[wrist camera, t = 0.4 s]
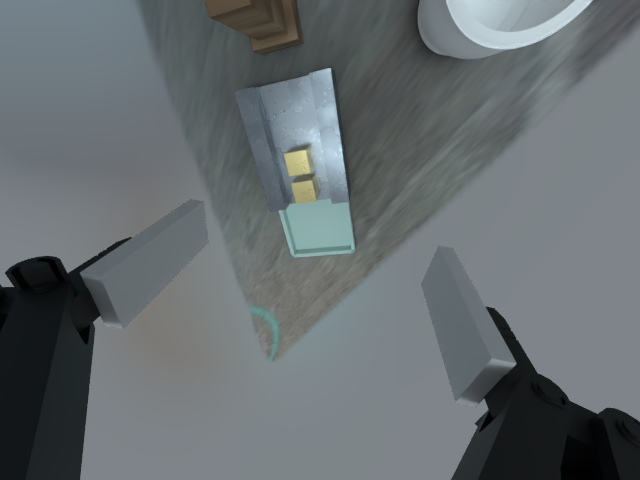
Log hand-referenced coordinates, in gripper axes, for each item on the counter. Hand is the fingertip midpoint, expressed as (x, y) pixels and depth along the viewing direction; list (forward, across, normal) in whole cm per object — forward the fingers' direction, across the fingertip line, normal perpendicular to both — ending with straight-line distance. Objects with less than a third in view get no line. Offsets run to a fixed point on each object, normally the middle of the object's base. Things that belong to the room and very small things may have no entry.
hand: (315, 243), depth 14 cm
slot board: (+26, -6, -1) cm, 27 cm away
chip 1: (+24, -6, -2) cm, 25 cm away
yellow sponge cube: (+24, -4, -6) cm, 25 cm away
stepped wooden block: (+26, -10, +13) cm, 31 cm away
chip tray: (+26, -2, -13) cm, 29 cm away
